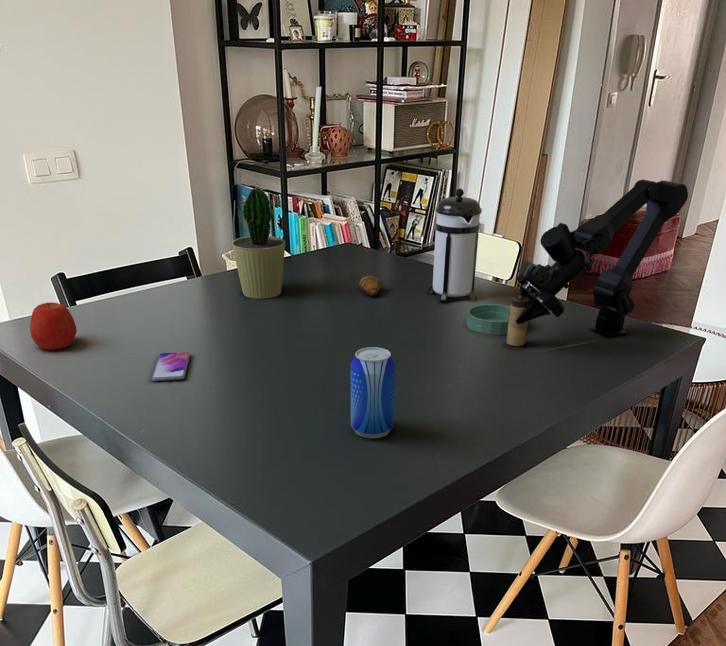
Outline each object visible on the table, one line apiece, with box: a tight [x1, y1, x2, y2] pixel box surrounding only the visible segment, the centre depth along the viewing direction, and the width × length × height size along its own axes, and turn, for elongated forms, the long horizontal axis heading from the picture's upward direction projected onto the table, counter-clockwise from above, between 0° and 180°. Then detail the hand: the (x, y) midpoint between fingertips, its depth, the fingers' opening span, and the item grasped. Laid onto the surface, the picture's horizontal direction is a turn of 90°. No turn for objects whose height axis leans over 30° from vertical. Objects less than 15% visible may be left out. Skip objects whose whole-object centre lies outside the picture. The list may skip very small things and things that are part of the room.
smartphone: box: [151, 351, 191, 382], centre depth 169 cm, size 7×1×15 cm
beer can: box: [350, 346, 396, 439], centre depth 140 cm, size 8×8×16 cm
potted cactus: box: [231, 186, 286, 300], centre depth 210 cm, size 15×15×30 cm
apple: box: [29, 301, 78, 351], centre depth 179 cm, size 11×11×11 cm
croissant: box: [358, 274, 382, 298], centre depth 218 cm, size 14×7×5 cm, turn 10°
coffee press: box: [428, 188, 483, 304], centre depth 209 cm, size 17×16×30 cm
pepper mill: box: [505, 295, 529, 347], centre depth 179 cm, size 5×5×12 cm
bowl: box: [466, 303, 510, 336], centre depth 193 cm, size 14×14×4 cm
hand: (513, 319), depth 179 cm, fingers closed on pepper mill, 4 cm apart
